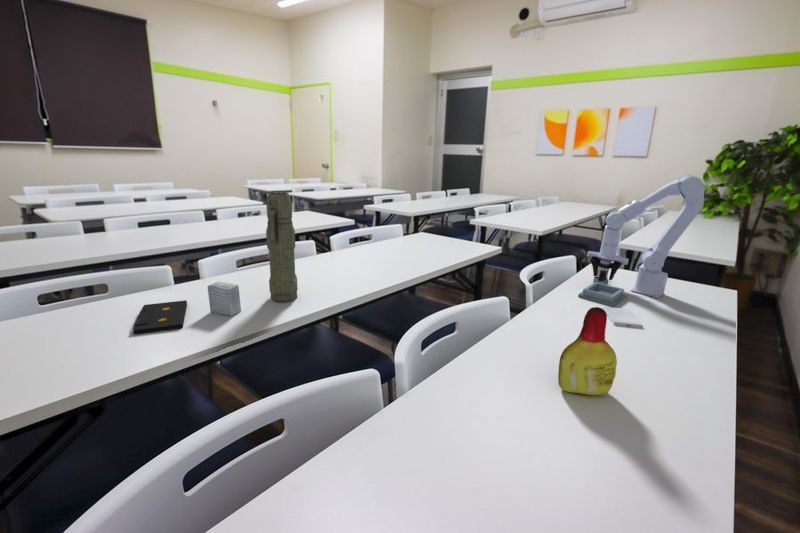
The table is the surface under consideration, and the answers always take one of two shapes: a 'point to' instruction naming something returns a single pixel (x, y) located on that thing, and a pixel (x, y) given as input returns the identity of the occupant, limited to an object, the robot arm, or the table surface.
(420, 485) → the table surface
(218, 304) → the grey layered block
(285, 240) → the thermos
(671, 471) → the table surface
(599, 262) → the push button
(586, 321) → the bottle
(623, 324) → the hard drive
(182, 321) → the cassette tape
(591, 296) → the end holder
